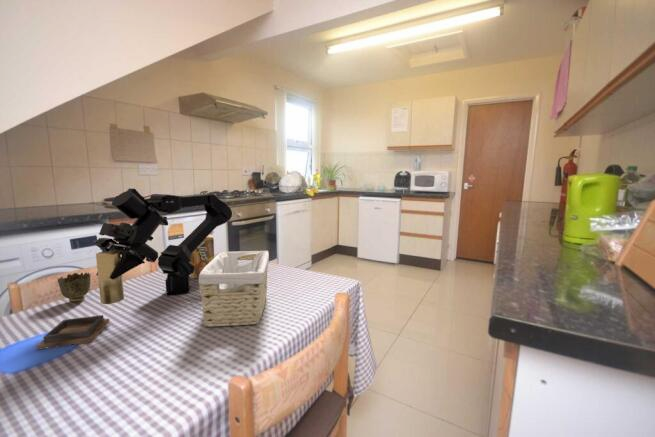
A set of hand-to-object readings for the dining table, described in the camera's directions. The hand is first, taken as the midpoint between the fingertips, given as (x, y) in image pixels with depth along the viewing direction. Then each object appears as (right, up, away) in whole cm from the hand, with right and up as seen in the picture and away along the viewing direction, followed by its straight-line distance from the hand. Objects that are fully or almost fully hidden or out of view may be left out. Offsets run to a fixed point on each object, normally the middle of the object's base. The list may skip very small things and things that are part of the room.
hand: (104, 277), depth 73 cm
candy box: (+9, -7, +37) cm, 39 cm away
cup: (-19, -10, +13) cm, 25 cm away
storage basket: (+32, -12, +10) cm, 36 cm away
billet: (0, -7, +2) cm, 7 cm away
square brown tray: (-3, -13, -5) cm, 14 cm away
